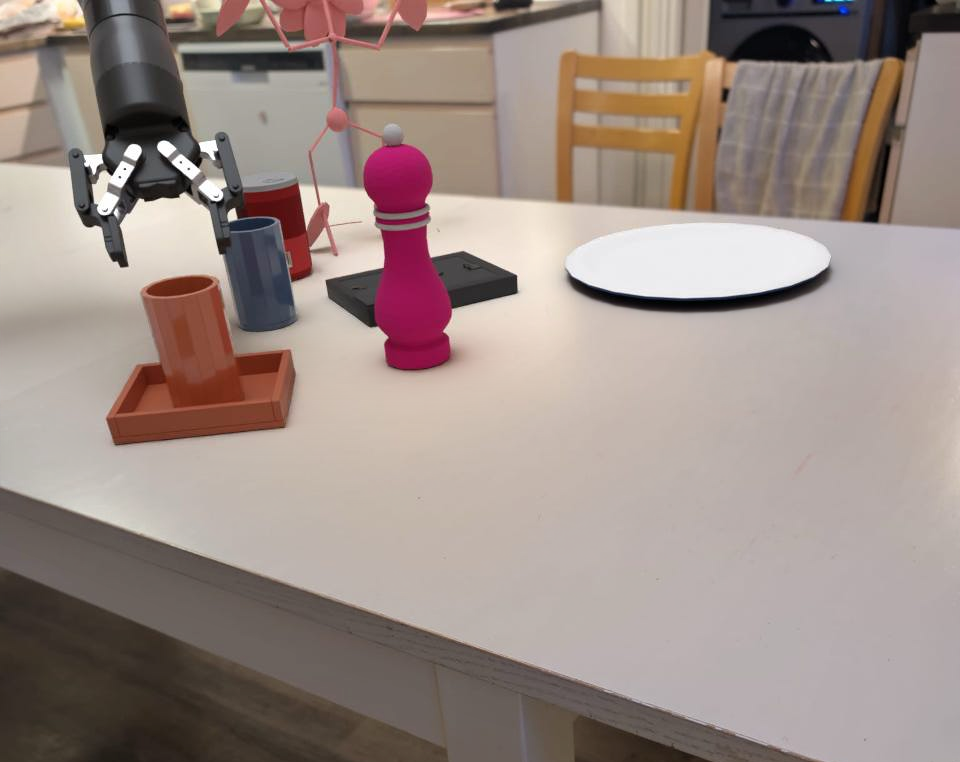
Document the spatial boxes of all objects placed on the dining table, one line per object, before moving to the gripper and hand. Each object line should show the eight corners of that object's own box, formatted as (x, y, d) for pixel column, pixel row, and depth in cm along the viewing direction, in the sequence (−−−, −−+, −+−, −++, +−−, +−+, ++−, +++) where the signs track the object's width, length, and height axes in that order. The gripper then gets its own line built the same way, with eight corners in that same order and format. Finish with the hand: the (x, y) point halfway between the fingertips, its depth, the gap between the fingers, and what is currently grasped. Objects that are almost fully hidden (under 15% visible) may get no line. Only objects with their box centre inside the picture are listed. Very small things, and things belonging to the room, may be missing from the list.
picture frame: (370, 327, 98) (518, 292, 104) (367, 305, 97) (517, 271, 103) (327, 296, 108) (464, 266, 114) (324, 276, 107) (463, 247, 112)
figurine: (457, 231, 128) (431, -93, 107) (279, 269, 119) (212, -76, 98) (408, 212, 139) (376, -85, 118) (242, 245, 130) (175, -69, 109)
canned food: (326, 269, 117) (310, 173, 111) (281, 287, 112) (262, 188, 106) (282, 263, 121) (264, 170, 115) (237, 280, 116) (216, 184, 110)
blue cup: (235, 334, 100) (212, 235, 94) (242, 314, 105) (221, 220, 99) (295, 327, 100) (276, 228, 94) (299, 309, 105) (281, 214, 99)
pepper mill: (381, 348, 93) (350, 121, 81) (454, 341, 93) (433, 113, 81) (380, 375, 87) (346, 134, 75) (457, 367, 87) (436, 126, 75)
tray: (114, 444, 79) (105, 418, 77) (143, 389, 89) (136, 364, 87) (285, 427, 79) (279, 400, 78) (295, 373, 89) (290, 348, 88)
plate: (867, 300, 94) (870, 283, 93) (576, 322, 95) (576, 305, 94) (788, 227, 117) (790, 213, 116) (555, 246, 118) (555, 231, 117)
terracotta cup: (166, 418, 81) (132, 301, 75) (179, 390, 86) (148, 278, 80) (240, 411, 81) (212, 293, 75) (249, 383, 86) (223, 271, 80)
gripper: (42, 67, 79) (75, 242, 77) (213, 50, 81) (250, 219, 79) (69, 129, 86) (100, 290, 84) (225, 112, 88) (259, 268, 86)
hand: (172, 256), depth 81 cm, fingers open, 8 cm apart
